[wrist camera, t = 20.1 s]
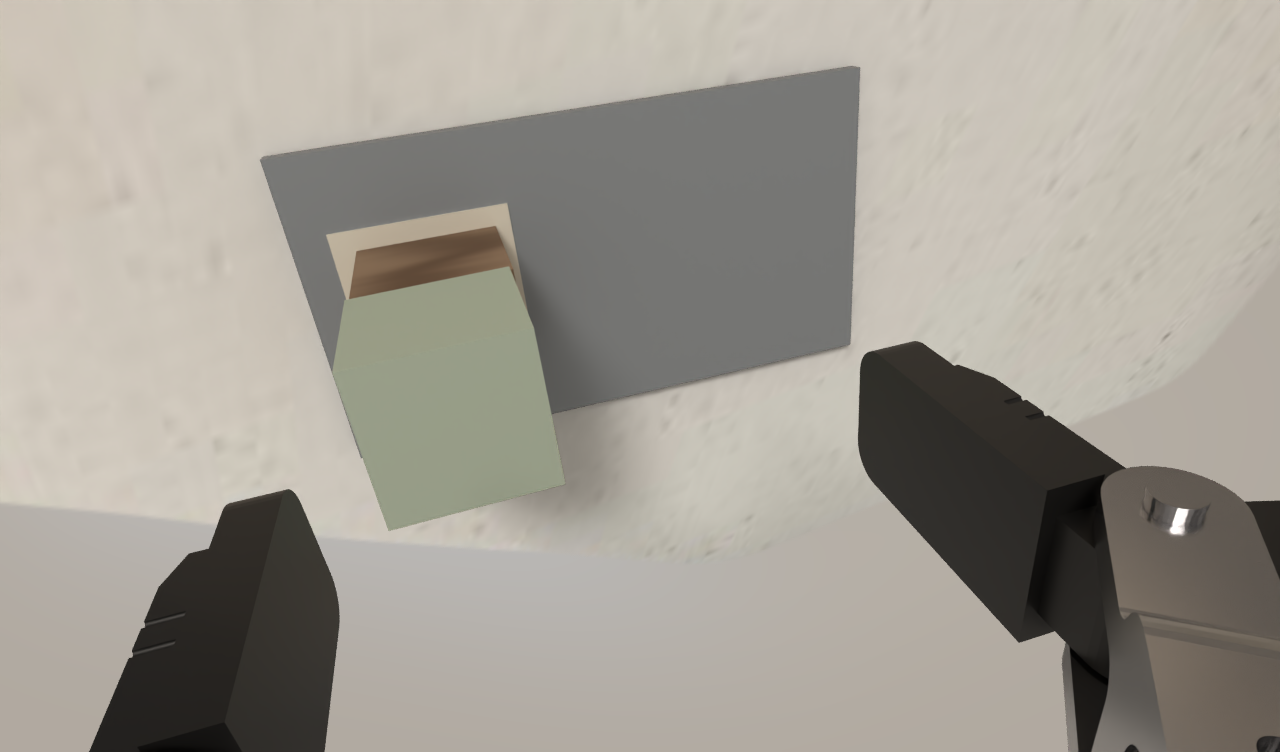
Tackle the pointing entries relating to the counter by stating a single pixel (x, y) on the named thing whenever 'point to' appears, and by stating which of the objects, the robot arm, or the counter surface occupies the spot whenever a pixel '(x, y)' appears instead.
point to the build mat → (616, 226)
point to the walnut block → (427, 261)
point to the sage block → (446, 396)
